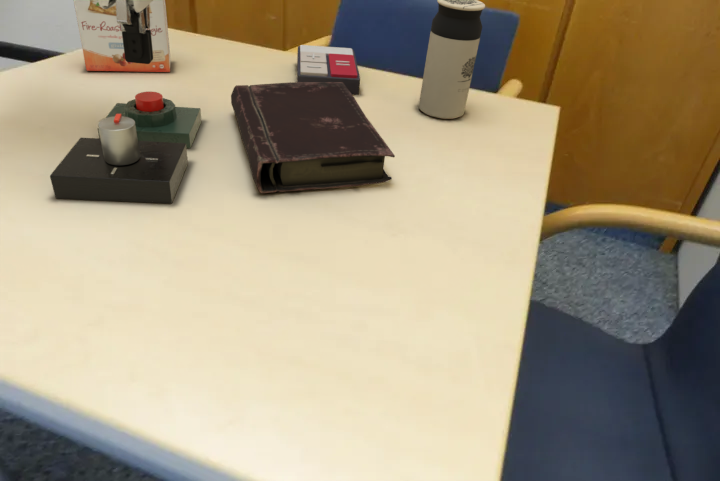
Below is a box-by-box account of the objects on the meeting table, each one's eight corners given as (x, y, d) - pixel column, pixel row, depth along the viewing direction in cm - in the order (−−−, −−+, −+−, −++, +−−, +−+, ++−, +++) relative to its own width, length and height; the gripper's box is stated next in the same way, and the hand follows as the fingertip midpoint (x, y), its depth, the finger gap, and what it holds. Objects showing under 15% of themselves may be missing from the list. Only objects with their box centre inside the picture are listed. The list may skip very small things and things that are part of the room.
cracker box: (86, 73, 96) (59, -64, 84) (90, 61, 100) (66, -70, 88) (171, 73, 99) (157, -58, 87) (172, 62, 104) (159, -64, 92)
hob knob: (138, 165, 65) (132, 127, 63) (101, 166, 65) (94, 127, 62) (142, 150, 69) (136, 113, 66) (107, 150, 68) (100, 113, 65)
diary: (254, 196, 68) (254, 159, 65) (231, 114, 87) (230, 83, 84) (396, 185, 74) (401, 151, 71) (345, 110, 93) (347, 81, 90)
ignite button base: (100, 143, 75) (94, 115, 73) (119, 116, 83) (114, 90, 80) (190, 148, 77) (188, 121, 74) (201, 121, 84) (199, 96, 82)
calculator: (297, 71, 95) (297, 41, 107) (296, 95, 98) (297, 63, 110) (361, 75, 97) (354, 45, 108) (358, 98, 99) (352, 66, 111)
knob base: (55, 198, 64) (49, 174, 62) (85, 158, 72) (80, 136, 70) (171, 203, 65) (169, 180, 63) (188, 163, 73) (185, 141, 71)
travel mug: (408, 106, 97) (425, -4, 86) (441, 99, 101) (460, -6, 91) (440, 123, 92) (462, 9, 82) (473, 115, 96) (497, 6, 86)
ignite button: (133, 112, 76) (131, 100, 75) (140, 102, 79) (138, 90, 78) (160, 114, 76) (159, 101, 75) (166, 104, 79) (165, 92, 78)
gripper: (107, -109, 69) (126, 42, 79) (63, -98, 57) (91, 77, 67) (170, -100, 70) (180, 47, 80) (139, -89, 58) (155, 83, 68)
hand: (139, 60), depth 74 cm, fingers closed
